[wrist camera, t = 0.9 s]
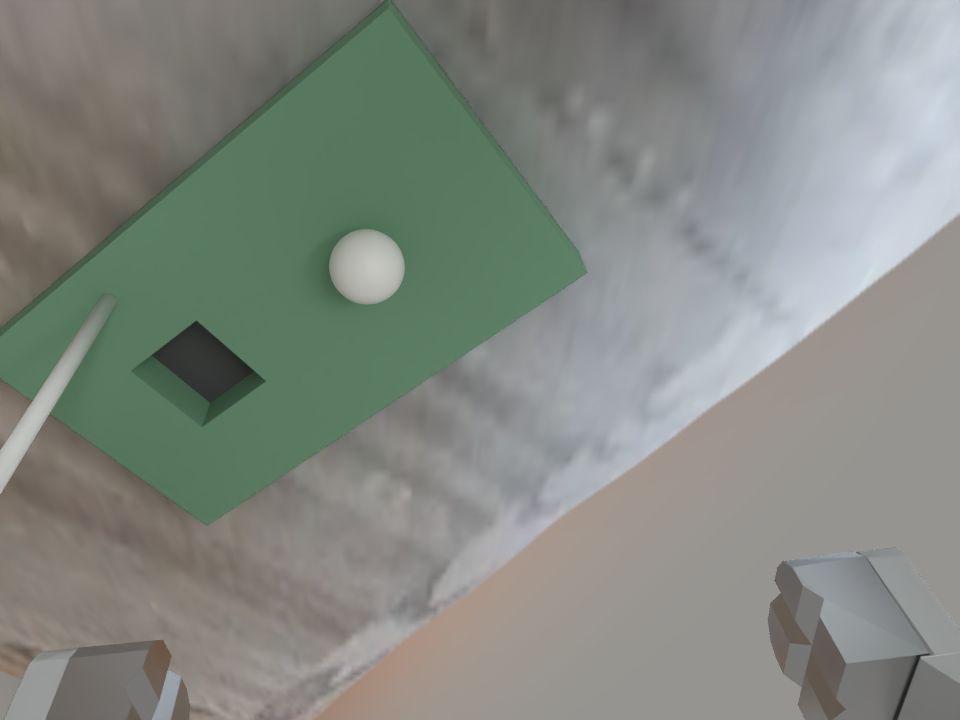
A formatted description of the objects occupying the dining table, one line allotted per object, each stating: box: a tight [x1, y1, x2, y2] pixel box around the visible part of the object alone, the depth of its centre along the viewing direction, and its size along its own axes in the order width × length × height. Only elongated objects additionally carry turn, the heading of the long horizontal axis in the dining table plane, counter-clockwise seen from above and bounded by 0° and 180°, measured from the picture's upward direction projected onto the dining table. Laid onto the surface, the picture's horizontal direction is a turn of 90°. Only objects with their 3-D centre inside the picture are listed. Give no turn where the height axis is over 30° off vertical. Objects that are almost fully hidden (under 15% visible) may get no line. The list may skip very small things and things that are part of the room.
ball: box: [329, 229, 405, 305], centre depth 38 cm, size 4×4×4 cm
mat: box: [0, 0, 587, 525], centre depth 36 cm, size 28×16×16 cm, turn 126°
